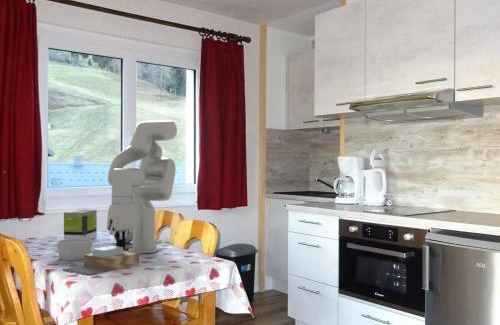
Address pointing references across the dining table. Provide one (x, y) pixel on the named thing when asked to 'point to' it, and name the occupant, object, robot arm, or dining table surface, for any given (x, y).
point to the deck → (112, 260)
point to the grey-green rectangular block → (107, 251)
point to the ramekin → (74, 248)
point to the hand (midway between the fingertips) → (120, 249)
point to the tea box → (80, 224)
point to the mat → (87, 269)
